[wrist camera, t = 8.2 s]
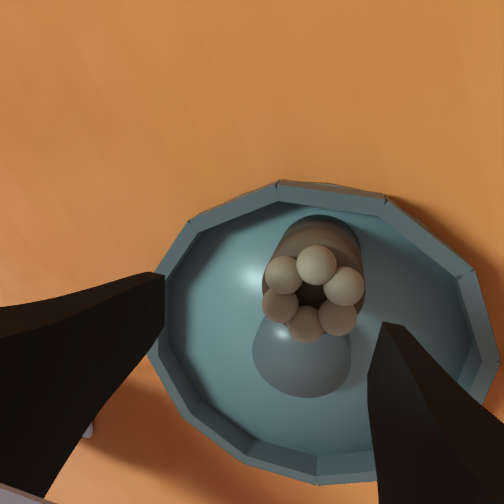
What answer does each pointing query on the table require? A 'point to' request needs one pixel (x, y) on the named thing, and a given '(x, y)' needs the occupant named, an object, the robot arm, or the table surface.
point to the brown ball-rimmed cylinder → (315, 279)
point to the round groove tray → (239, 308)
